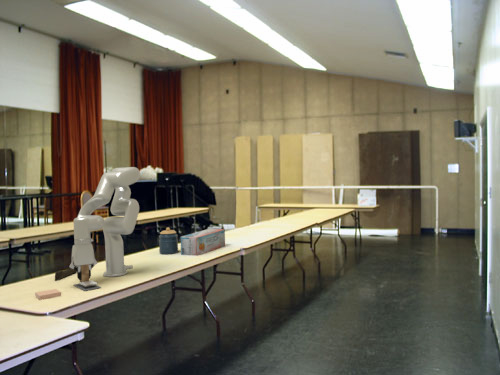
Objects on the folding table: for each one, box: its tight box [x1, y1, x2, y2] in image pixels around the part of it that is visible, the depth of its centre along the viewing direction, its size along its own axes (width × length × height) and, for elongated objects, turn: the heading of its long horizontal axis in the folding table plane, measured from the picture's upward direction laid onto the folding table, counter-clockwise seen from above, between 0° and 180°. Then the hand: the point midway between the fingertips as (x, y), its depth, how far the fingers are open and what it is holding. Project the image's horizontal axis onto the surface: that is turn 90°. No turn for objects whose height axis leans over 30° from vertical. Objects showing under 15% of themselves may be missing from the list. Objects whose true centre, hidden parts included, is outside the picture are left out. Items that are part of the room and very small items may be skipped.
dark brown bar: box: [54, 267, 77, 282], centre depth 239 cm, size 19×4×5 cm, turn 170°
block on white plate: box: [78, 264, 98, 287], centre depth 215 cm, size 6×12×9 cm, turn 39°
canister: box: [158, 227, 179, 255], centre depth 305 cm, size 13×13×18 cm
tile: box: [34, 288, 62, 301], centre depth 200 cm, size 9×2×8 cm
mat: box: [73, 283, 102, 292], centre depth 216 cm, size 8×16×1 cm, turn 39°
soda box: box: [179, 228, 226, 256], centre depth 312 cm, size 41×14×13 cm, turn 156°
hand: (84, 278), depth 219 cm, fingers closed on block on white plate, 3 cm apart
